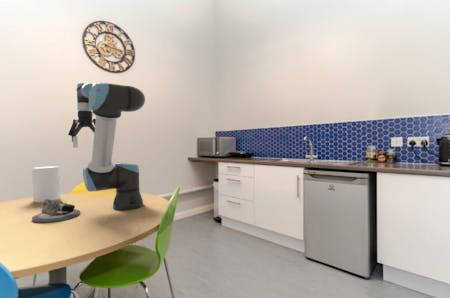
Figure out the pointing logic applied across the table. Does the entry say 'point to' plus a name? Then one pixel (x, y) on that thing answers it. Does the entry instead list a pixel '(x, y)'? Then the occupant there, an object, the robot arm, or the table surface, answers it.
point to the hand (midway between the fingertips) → (86, 147)
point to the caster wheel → (56, 207)
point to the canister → (46, 183)
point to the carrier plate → (55, 217)
